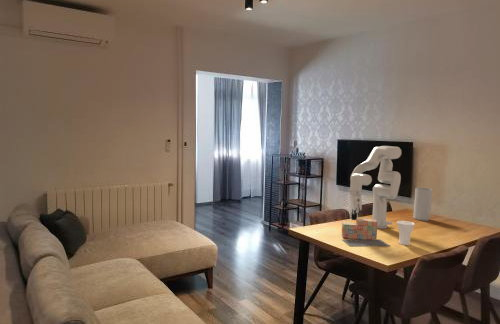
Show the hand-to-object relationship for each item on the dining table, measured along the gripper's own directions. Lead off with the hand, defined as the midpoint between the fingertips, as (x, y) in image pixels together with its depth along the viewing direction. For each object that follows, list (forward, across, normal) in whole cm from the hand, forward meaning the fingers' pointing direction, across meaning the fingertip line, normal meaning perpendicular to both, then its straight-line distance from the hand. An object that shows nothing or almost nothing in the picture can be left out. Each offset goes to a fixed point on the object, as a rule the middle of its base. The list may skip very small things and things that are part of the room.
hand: (354, 219), depth 249 cm
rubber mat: (+10, -19, 0) cm, 22 cm away
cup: (+10, -21, -25) cm, 34 cm away
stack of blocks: (+10, -9, 0) cm, 14 cm away
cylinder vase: (+10, +42, -77) cm, 88 cm away
